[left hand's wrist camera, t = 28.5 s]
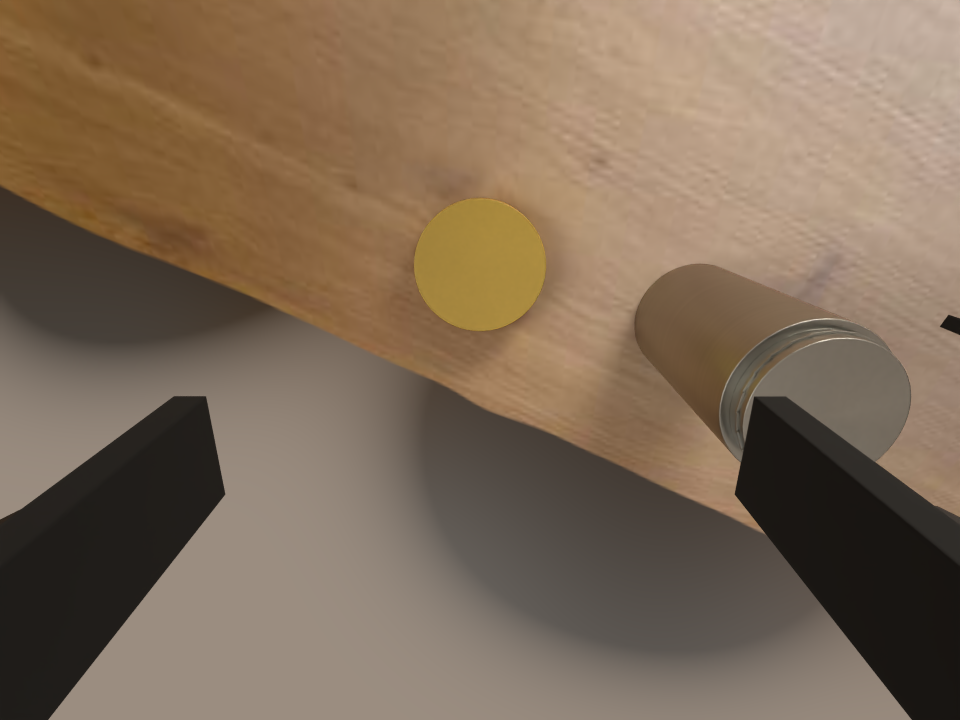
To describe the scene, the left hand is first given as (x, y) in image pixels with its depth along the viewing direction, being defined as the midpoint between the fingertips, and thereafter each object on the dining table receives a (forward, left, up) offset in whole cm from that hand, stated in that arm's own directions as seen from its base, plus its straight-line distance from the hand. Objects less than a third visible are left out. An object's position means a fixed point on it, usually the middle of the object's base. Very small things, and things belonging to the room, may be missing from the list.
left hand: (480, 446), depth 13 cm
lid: (0, 0, -26) cm, 27 cm away
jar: (+16, +6, -28) cm, 33 cm away
